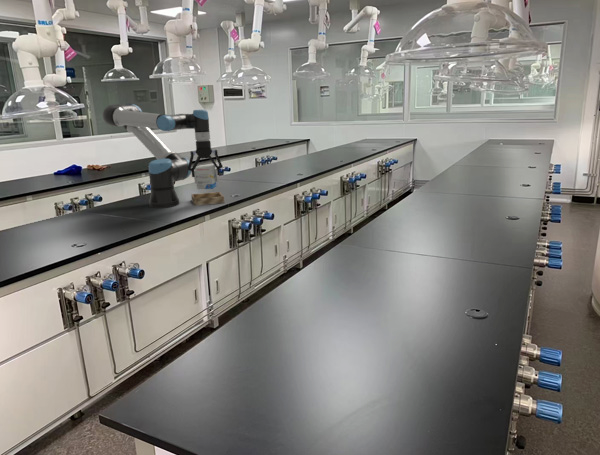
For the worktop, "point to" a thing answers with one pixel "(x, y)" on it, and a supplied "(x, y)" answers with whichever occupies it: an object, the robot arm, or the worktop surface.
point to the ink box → (205, 177)
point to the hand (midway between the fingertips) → (206, 182)
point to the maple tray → (207, 198)
